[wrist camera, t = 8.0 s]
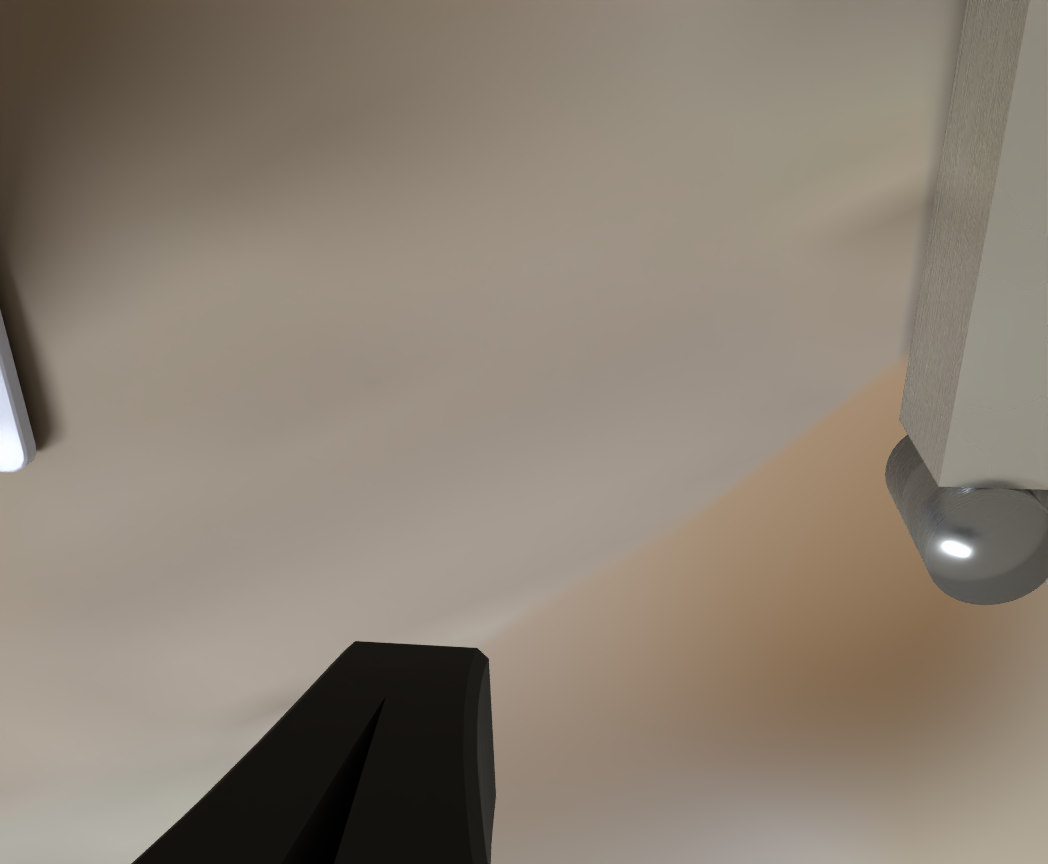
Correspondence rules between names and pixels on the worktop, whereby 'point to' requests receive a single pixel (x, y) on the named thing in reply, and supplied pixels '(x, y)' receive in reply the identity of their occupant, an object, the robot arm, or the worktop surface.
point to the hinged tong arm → (984, 323)
